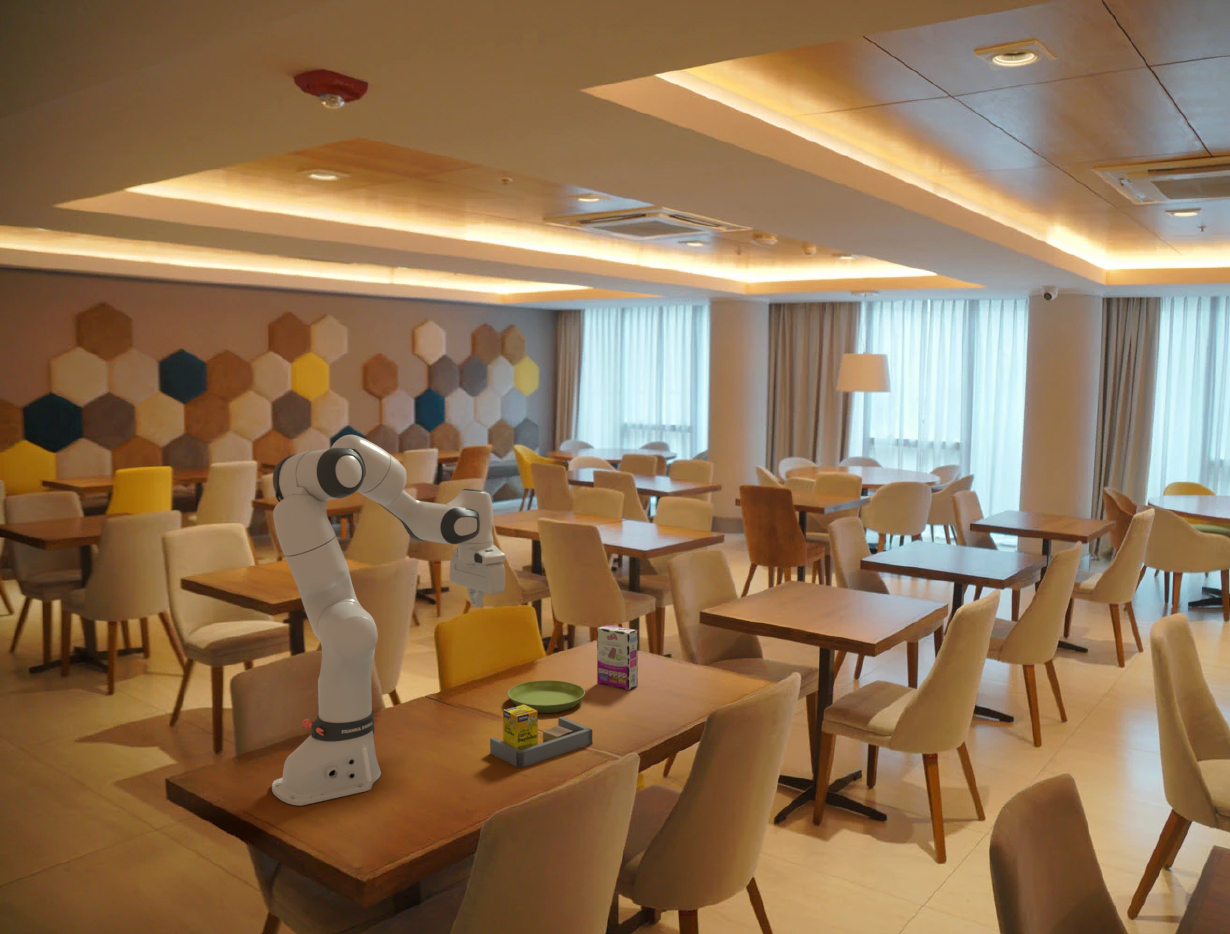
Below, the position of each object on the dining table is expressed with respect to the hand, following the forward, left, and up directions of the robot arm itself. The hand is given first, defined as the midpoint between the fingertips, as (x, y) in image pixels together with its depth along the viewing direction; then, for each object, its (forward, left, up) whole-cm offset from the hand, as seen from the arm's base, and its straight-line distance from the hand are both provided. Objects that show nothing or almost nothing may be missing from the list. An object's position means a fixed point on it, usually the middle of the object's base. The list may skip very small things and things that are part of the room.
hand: (476, 605), depth 238 cm
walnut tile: (+5, -27, -29) cm, 40 cm away
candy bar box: (+44, -5, -29) cm, 53 cm away
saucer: (+20, -3, -30) cm, 36 cm away
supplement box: (-7, -28, -29) cm, 41 cm away
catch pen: (-1, -27, -29) cm, 40 cm away
